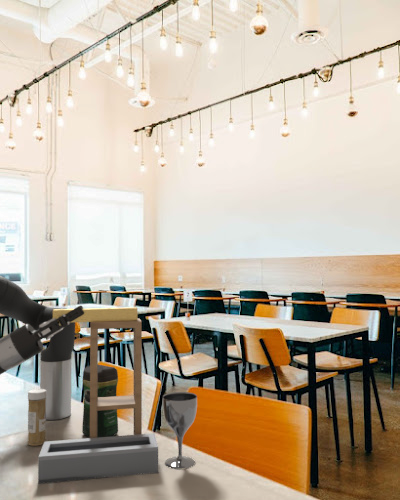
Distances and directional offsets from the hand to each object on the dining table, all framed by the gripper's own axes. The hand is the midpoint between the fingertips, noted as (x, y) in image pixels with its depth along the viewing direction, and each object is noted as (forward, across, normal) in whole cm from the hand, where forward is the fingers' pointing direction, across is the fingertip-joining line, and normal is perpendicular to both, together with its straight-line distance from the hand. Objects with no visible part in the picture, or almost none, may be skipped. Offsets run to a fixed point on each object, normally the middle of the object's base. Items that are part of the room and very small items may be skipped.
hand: (82, 309), depth 110 cm
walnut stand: (-10, 0, +34) cm, 36 cm away
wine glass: (+2, -9, +42) cm, 43 cm away
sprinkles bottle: (-28, +11, +24) cm, 39 cm away
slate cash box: (-13, -9, +32) cm, 36 cm away
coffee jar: (-14, +14, +32) cm, 38 cm away
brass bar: (+1, 0, +4) cm, 4 cm away
